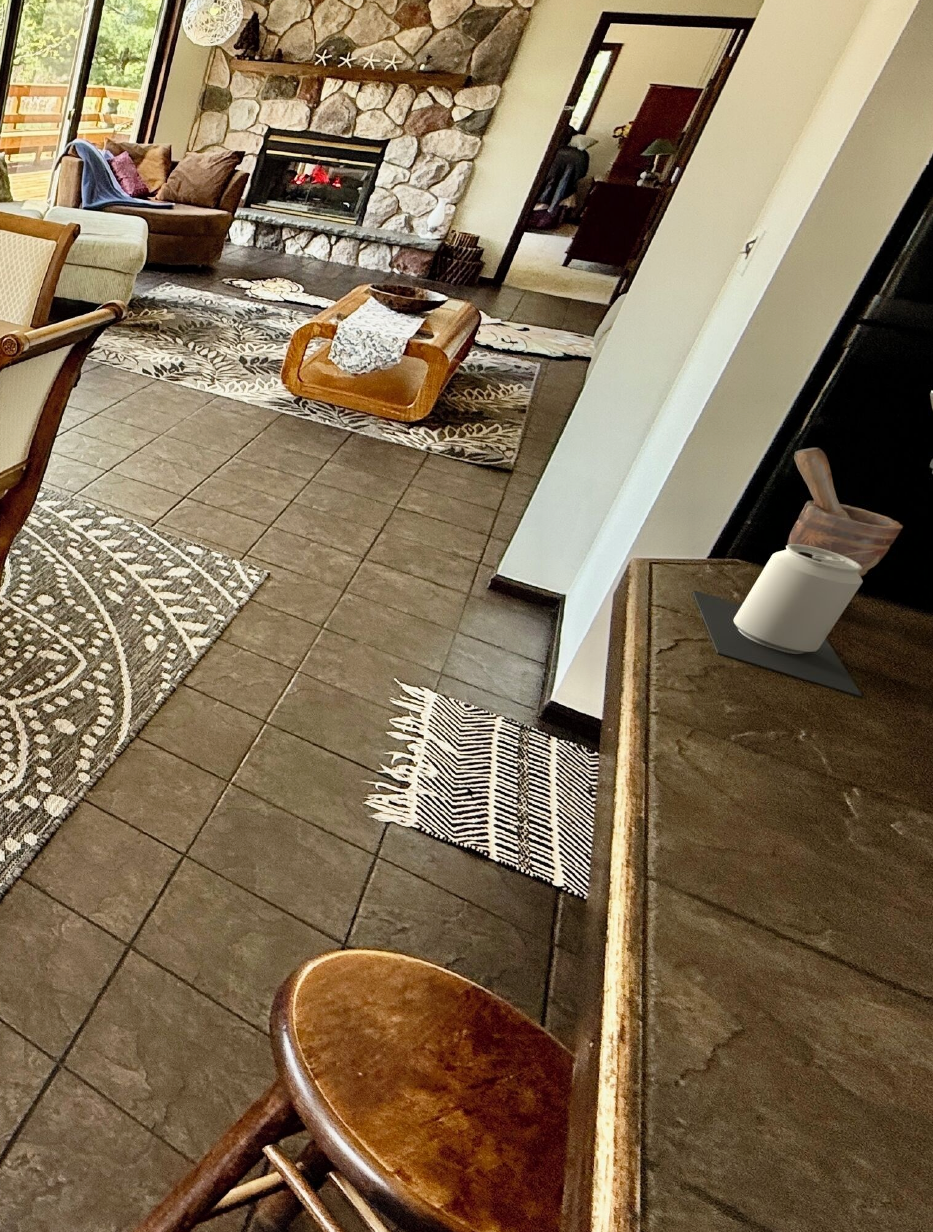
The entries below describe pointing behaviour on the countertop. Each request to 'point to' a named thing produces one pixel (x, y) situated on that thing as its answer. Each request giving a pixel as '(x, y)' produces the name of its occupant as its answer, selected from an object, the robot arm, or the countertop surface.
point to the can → (798, 598)
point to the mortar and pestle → (838, 518)
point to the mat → (770, 649)
